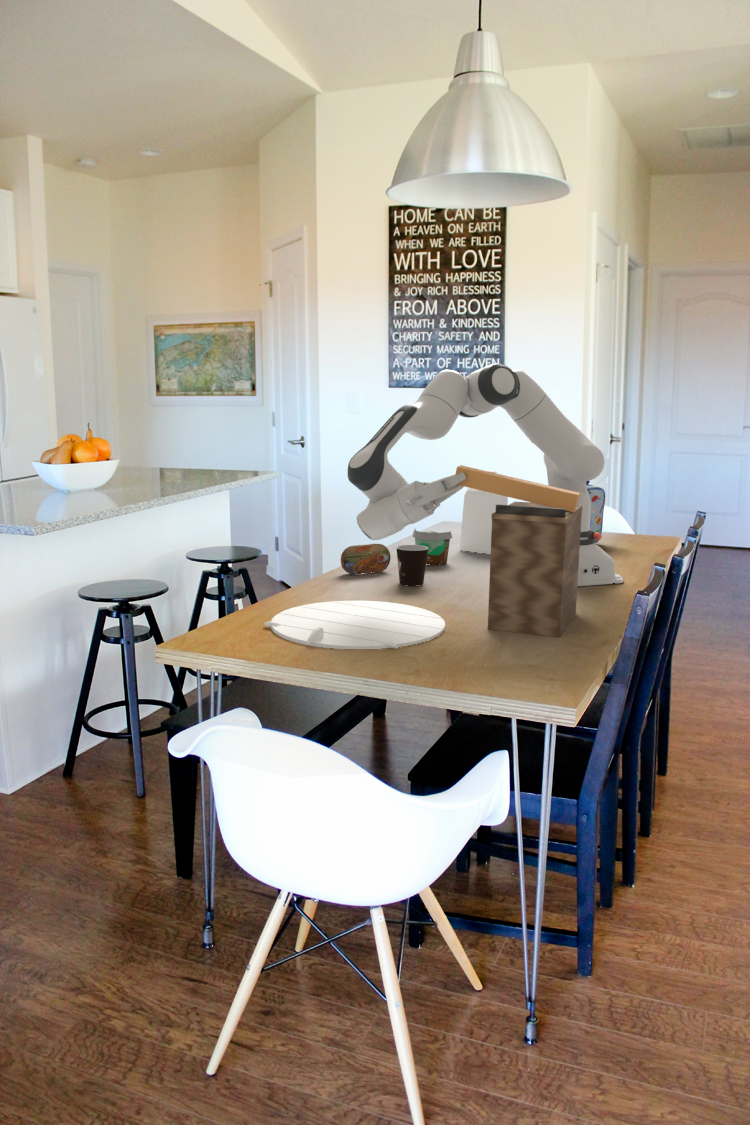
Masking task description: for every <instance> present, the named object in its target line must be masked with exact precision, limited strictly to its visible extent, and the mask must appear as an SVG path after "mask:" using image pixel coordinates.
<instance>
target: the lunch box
mask: <svg viewBox="0 0 750 1125" xmlns="http://www.w3.org/2000/svg"><path fill="white" fill-rule="evenodd" d="M590 481H591V480H589V481H586V485H587V491H588V495H589V498H590V500H591V513H590V530H591V531H593V532H594V533H596V532H598V533H600V535H602V531H603V526H604V525H603V521H604V509H605V503H606V492H605V490H604V489H603V488H602V487H600V486H596V485H593V484H590V483H591V482H590ZM547 485H548V484H547ZM548 486H549V485H548ZM597 543H599V541H598V540H596V539H595V544H597Z"/></svg>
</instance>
